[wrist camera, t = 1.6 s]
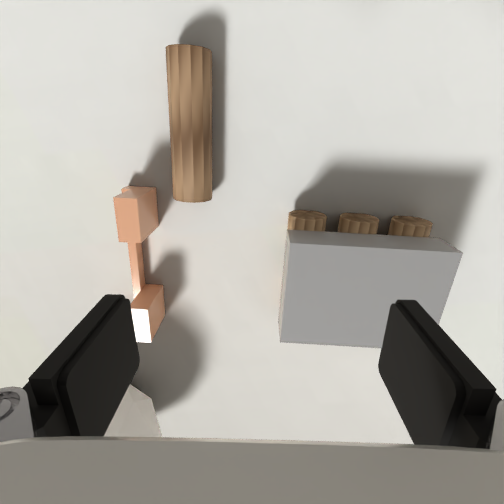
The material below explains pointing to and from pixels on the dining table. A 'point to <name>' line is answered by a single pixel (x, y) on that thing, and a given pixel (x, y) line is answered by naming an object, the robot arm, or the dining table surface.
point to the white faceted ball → (134, 416)
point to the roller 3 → (358, 223)
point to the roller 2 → (306, 220)
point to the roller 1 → (190, 121)
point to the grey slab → (358, 284)
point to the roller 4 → (409, 226)
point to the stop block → (140, 256)
